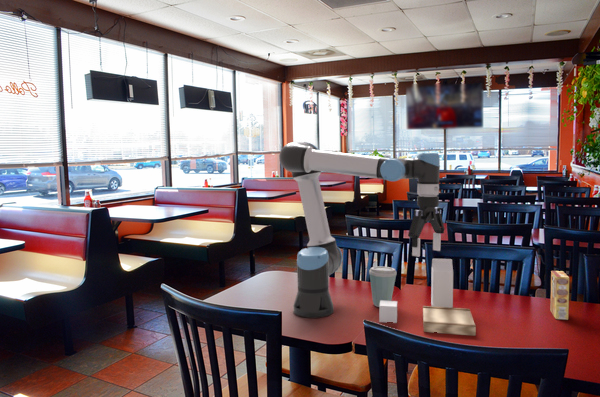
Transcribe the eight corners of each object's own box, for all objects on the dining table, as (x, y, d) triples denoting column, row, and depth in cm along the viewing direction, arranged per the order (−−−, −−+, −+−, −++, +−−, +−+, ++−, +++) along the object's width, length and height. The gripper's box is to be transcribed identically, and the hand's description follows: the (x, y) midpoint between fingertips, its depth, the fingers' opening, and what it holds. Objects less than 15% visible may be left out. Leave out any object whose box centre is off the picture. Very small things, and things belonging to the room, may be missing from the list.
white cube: (379, 322, 157) (379, 305, 157) (380, 316, 163) (380, 300, 162) (396, 323, 156) (396, 306, 155) (397, 317, 162) (397, 301, 161)
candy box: (568, 320, 155) (570, 277, 154) (555, 319, 157) (556, 276, 155) (562, 312, 164) (563, 270, 162) (549, 311, 165) (550, 270, 164)
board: (423, 331, 148) (423, 321, 147) (422, 314, 163) (423, 305, 163) (475, 335, 144) (475, 325, 143) (469, 318, 159) (469, 308, 159)
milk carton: (452, 311, 166) (453, 261, 164) (432, 310, 167) (433, 260, 166) (450, 305, 173) (450, 257, 171) (431, 304, 174) (431, 256, 172)
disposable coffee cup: (369, 300, 181) (369, 263, 179) (396, 301, 179) (396, 264, 177) (368, 309, 170) (367, 270, 169) (396, 310, 168) (397, 271, 167)
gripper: (417, 198, 151) (416, 260, 153) (455, 194, 168) (453, 249, 170) (398, 197, 157) (397, 256, 159) (437, 192, 173) (435, 246, 175)
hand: (426, 253), depth 164 cm, fingers open, 13 cm apart
